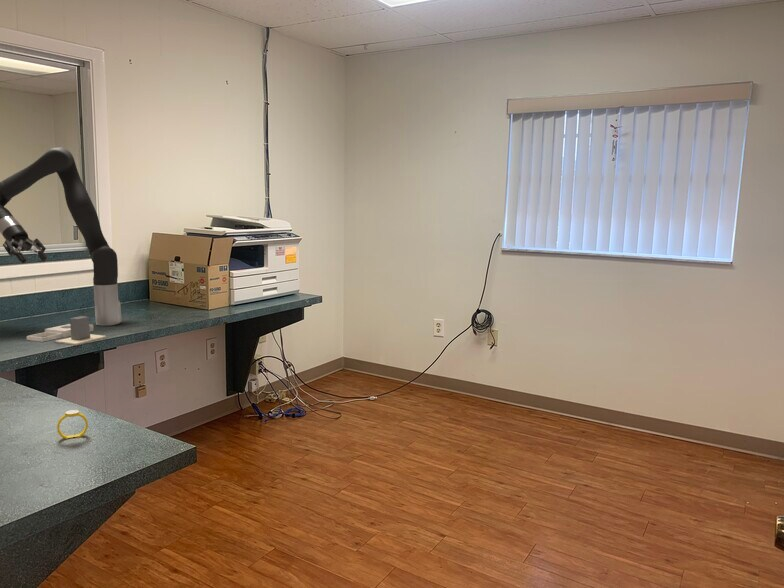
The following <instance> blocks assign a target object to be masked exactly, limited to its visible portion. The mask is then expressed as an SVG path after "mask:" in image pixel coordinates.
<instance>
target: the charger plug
mask: <svg viewBox="0 0 784 588" xmlns="http://www.w3.org/2000/svg"><path fill="white" fill-rule="evenodd" d="M69 324H70V327H71V336H70V337H71V339H73V340H82V339H87V338H90V334H91V332H90V325H91V324H90V317H89V316H84V315H80V316H76V317H71V318H69Z"/></svg>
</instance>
